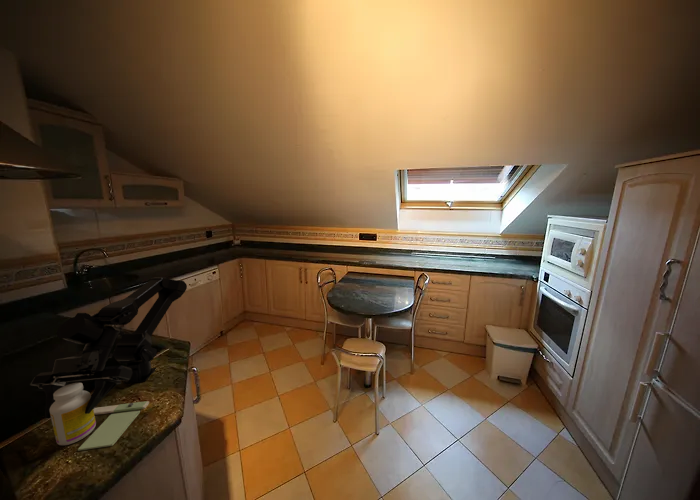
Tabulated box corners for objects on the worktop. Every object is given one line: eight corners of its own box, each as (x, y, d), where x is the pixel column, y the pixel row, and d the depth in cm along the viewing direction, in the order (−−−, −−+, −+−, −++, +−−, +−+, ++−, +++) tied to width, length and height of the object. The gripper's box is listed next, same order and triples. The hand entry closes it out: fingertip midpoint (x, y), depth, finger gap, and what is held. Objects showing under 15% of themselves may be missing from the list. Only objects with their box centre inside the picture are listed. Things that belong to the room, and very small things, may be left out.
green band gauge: (84, 410, 67) (83, 407, 67) (149, 403, 70) (148, 399, 70) (33, 457, 54) (32, 452, 54) (115, 445, 57) (114, 441, 57)
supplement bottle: (104, 422, 64) (96, 379, 62) (76, 446, 57) (67, 399, 55) (78, 423, 63) (69, 379, 61) (47, 447, 57) (36, 399, 55)
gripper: (30, 344, 58) (-18, 421, 50) (118, 337, 62) (88, 408, 53) (67, 354, 67) (31, 422, 58) (142, 348, 71) (120, 411, 62)
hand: (67, 416), depth 58 cm, fingers open, 8 cm apart
